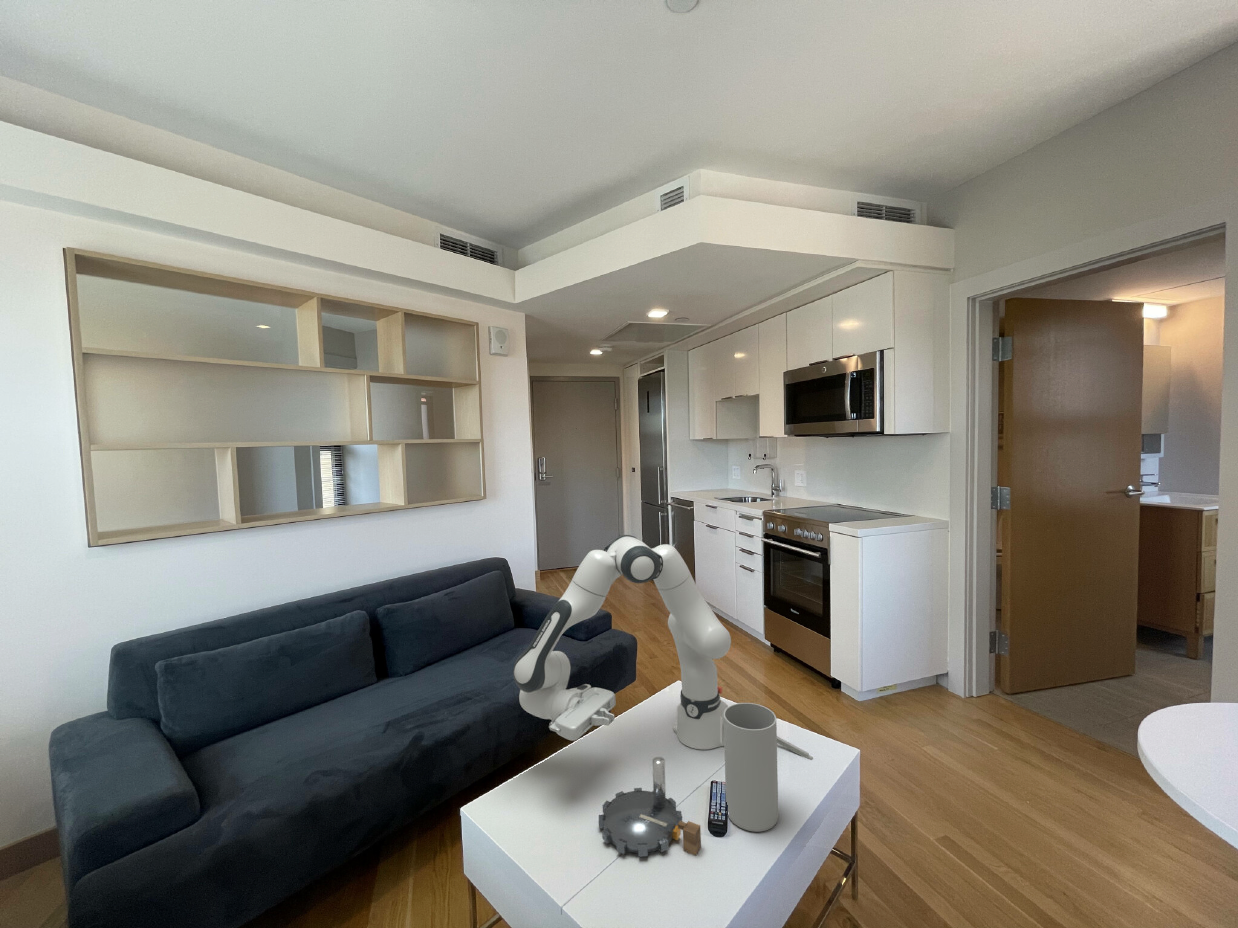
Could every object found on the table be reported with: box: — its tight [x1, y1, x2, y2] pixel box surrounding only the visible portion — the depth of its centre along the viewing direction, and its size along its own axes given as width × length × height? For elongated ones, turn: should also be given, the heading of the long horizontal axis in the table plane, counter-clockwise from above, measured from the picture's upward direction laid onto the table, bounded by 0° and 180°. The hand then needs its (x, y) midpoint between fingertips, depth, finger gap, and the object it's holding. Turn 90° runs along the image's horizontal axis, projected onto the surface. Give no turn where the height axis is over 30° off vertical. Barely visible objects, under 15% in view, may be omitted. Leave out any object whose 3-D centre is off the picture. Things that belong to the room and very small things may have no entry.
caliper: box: [777, 736, 814, 761], centre depth 155 cm, size 20×1×6 cm, turn 51°
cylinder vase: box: [723, 702, 779, 833], centre depth 127 cm, size 12×12×25 cm
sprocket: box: [598, 756, 683, 857], centre depth 125 cm, size 20×20×13 cm
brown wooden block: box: [678, 820, 702, 856], centre depth 118 cm, size 3×5×5 cm, turn 58°
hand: (611, 720), depth 136 cm, fingers closed
